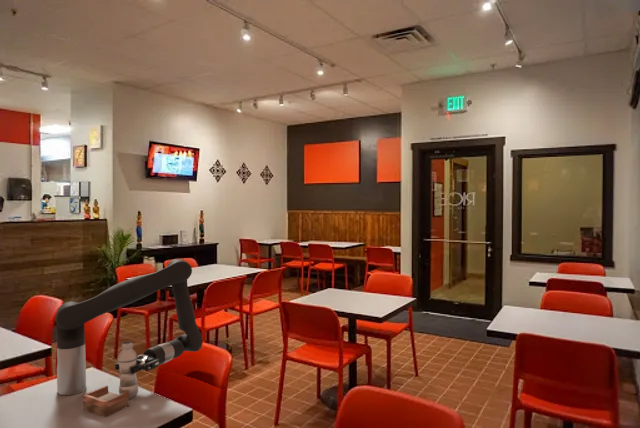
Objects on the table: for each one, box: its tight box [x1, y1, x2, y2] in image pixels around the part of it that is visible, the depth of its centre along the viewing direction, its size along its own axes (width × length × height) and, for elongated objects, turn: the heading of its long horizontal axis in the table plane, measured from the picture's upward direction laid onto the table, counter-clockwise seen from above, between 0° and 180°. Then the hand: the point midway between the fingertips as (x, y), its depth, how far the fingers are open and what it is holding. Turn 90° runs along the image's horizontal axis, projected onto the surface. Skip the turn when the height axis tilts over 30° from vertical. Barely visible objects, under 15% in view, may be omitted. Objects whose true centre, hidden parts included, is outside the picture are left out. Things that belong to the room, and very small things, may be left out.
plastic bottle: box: [117, 340, 139, 399], centre depth 160 cm, size 6×7×20 cm
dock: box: [82, 384, 130, 418], centre depth 151 cm, size 12×9×5 cm
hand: (123, 369), depth 158 cm, fingers open, 7 cm apart
